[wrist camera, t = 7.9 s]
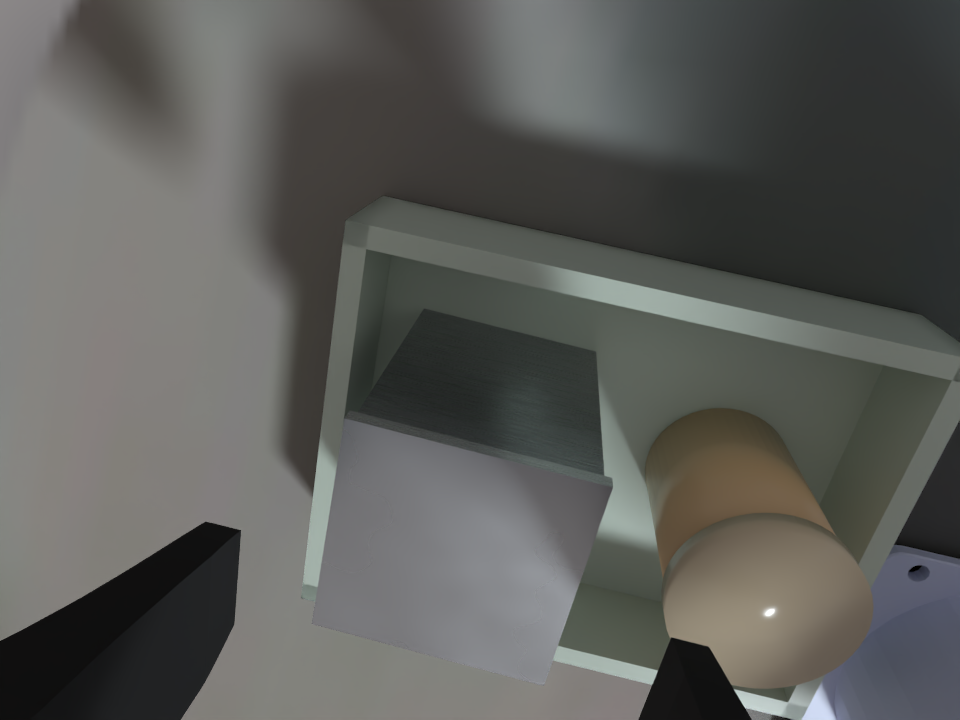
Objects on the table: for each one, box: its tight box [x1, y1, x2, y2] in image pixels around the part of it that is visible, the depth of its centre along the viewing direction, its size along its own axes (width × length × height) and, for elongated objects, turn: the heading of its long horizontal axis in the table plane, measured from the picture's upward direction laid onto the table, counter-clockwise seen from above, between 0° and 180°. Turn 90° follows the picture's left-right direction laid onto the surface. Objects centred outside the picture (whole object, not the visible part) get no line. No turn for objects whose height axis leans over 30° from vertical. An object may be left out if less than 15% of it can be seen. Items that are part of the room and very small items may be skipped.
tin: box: [312, 309, 613, 686], centre depth 16 cm, size 5×5×6 cm
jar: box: [645, 408, 873, 689], centre depth 16 cm, size 4×4×5 cm
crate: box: [301, 196, 960, 720], centre depth 17 cm, size 13×10×3 cm
